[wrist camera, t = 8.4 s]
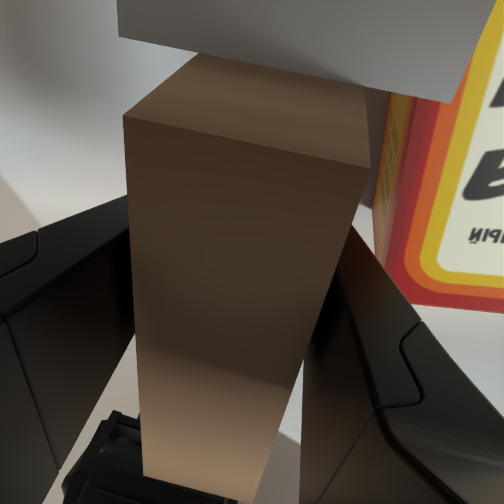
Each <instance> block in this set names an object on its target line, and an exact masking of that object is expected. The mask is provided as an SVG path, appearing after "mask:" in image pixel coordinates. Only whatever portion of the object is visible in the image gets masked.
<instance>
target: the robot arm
mask: <svg viewBox="0 0 504 504" xmlns="http://www.w3.org/2000/svg"><path fill="white" fill-rule="evenodd" d="M134 334H135V319H134V302H133V285H132V267H131V250H130V233H129V216H128V198H127V195H125V196H122V197H120V198H117V199H114V200H112V201H109V202H107V203H104V204H102V205H99V206H96V207H94V208H91V209H89V210H86V211H83V212H81V213H78V214H76V215H73V216H70V217H68V218H65V219H63V220H60V221H57V222H55V223H52V224H50V225H47V226H44V227H42V228H39V229H38V230H37V231H31V232H29V233H26V234H24V235H21V236H19V237H16V238H13V239H10V240H8V241H5V242H2V243H0V504H42V503H43V501H44V499H45V498H46V496H47V494H48V492H49V490H50V488H51V487H52V485H53V483H54V481H55V479H56V477H57V475H58V474H59V471H58V470H60V469H61V468H62V466H63V464H64V462H65V460H66V459H67V457H68V455H69V453H70V451H71V449H72V448H73V446H74V444H75V442H76V440H77V438H78V436H79V435H80V433H81V431H82V429H83V427H84V426H85V424H86V422H87V420H88V418H89V416H90V415H91V413H92V411H93V409H94V407H95V405H96V404H97V402H98V400H99V398H100V396H101V394H102V392H103V391H104V389H105V387H106V385H107V383H108V382H109V380H110V378H111V376H112V374H113V372H114V370H115V369H116V367H117V365H118V363H119V361H120V360H121V358H122V356H123V354H124V352H125V350H126V349H127V346H128V345H129V343H130V341H131V339H132V337H133V336H134ZM61 488H62V491H63V494H64V500H63V504H237V502H238V501H237V500H234V499H230V498H226V497H222V496H219V495H215V494H211V493H207V492H204V491H200V490H196V489H192V488H189V487H185V486H181V485H177V484H174V483H170V482H166V481H162V480H159V479H155V478H151V477H147V476H144V475H143V457H142V440H141V423H140V413H139V415H138V418H137V419H135V418H132V417H129V416H126V415H123V414H122V413H121V412H119V411H115V410H113V411H112V413H111V415H110V416H109V418H108V420H102V421H101V423H100V425H99V426H98V429H97V430H96V433H95V434H94V437H93V438H92V440H91V442H90V444H89V445H88V447H87V448H86V450H85V451H84V453H83V454H82V455H81V457H80V458H79V459H78V461H77V462H76V463H75V465H74V466H73V467H72V469H71V470H70V472H69V473H68V474H67V475H66V477H65V479H64V481H63V483H62V486H61ZM299 491H300V493H299V504H504V417H503V416H502V415H501V414H500V413H499V412H498V411H497V409H496V408H495V407H494V406H493V405H492V404H491V403H490V402H489V400H488V399H487V398H486V397H485V396H484V395H483V394H482V393H481V391H480V390H479V389H478V388H477V387H476V386H475V385H474V384H473V383H472V381H471V380H470V379H469V378H468V377H467V376H466V374H465V373H464V372H463V371H462V370H461V369H460V367H459V366H458V365H457V364H456V363H455V362H454V360H453V359H452V358H451V357H450V355H449V354H448V353H447V352H446V350H445V349H444V348H443V347H442V345H441V344H440V343H439V341H438V340H437V339H436V338H435V336H434V335H433V334H432V332H431V331H430V330H429V328H428V327H427V325H426V324H425V323H424V322H423V321H421V318H420V316H419V315H418V314H417V312H416V311H415V309H414V308H413V307H412V305H411V304H410V303H409V301H408V300H407V299H406V297H405V296H404V295H403V293H402V292H401V290H400V289H399V288H398V286H397V285H396V284H395V282H394V281H393V280H392V278H391V277H390V276H389V274H388V273H387V272H386V270H385V269H384V267H383V266H382V265H381V263H380V262H379V261H378V259H377V258H376V257H375V255H374V254H373V253H372V251H371V250H370V248H369V247H368V246H367V244H366V243H365V242H364V240H363V239H362V238H361V236H360V235H359V234H358V232H357V231H356V230H355V228H354V227H353V225H352V224H351V227H350V230H349V232H348V235H347V238H346V241H345V244H344V247H343V249H342V252H341V255H340V258H339V261H338V263H337V266H336V269H335V272H334V275H333V277H332V280H331V283H330V286H329V289H328V292H327V294H326V297H325V300H324V303H323V306H322V308H321V311H320V314H319V317H318V320H317V322H316V325H315V328H314V331H313V334H312V336H311V339H310V342H309V345H308V348H307V351H306V353H305V356H304V366H303V397H302V428H301V461H300V490H299Z"/></svg>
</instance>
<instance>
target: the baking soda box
mask: <svg viewBox="0 0 504 504" xmlns="http://www.w3.org/2000/svg"><path fill="white" fill-rule="evenodd" d="M372 218H373V233H374V249H375V257H376V258H377V259H378V261H379V262H380V263H381V265H382V266H383V267H384V269H385V270H386V272H387V273H388V274H389V276H390V277H391V278H392V280H393V281H394V282H395V284H396V285H397V286H398V288H399V289H400V290H401V292H402V293H403V295H404V296H405V297H406V299H407V300H408V301H409V303H410V304H416V305H425V306H435V307H445V308H454V309H464V310H473V311H483V312H492V313H502V314H504V0H497V1H496V3H495V5H494V7H493V10H492V12H491V14H490V16H489V19H488V21H487V23H486V25H485V28H484V30H483V32H482V35H481V37H480V39H479V41H478V44H477V46H476V48H475V50H474V53H473V55H472V57H471V59H470V62H469V64H468V66H467V68H466V71H465V73H464V75H463V78H462V80H461V82H460V84H459V87H458V89H457V91H456V93H455V96H454V98H453V100H452V102H451V104H449V103H444V102H439V101H434V100H429V99H424V98H419V97H414V96H409V95H405V94H400V93H395V92H390V96H389V102H388V109H387V115H386V122H385V128H384V135H383V141H382V148H381V154H380V161H379V167H378V173H377V180H376V186H375V193H374V199H373V206H372Z"/></svg>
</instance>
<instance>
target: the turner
mask: <svg viewBox="0 0 504 504" xmlns="http://www.w3.org/2000/svg"><path fill="white" fill-rule="evenodd" d="M496 1H497V0H117V12H118V29H119V37H123V38H128V39H133V40H138V41H143V42H148V43H153V44H158V45H163V46H168V47H173V48H178V49H183V50H188V51H192V52H197V53H198V54H197V55H196V56H194V57H193V58H192V59H191V60H190V61H188V62H187V63H186V64H185V65H183V66H182V67H181V68H180V69H179V70H177V71H176V72H175V73H174V74H173V75H171V76H170V77H169V78H168V79H166V80H165V81H164V82H163V83H162V84H160V85H159V86H158V87H157V88H155V89H154V90H153V91H152V92H151V93H149V94H148V95H147V96H146V97H144V98H143V99H142V100H141V101H140V102H138V103H137V104H136V105H135V106H134V107H132V108H131V109H130V110H129V111H127V112H126V113H125V114H124V115H123V129H124V147H125V164H126V181H127V198H128V216H129V233H130V250H131V267H132V285H133V302H134V319H135V336H136V354H137V371H138V387H139V404H140V423H141V440H142V457H143V475H144V476H147V477H151V478H155V479H159V480H162V481H166V482H170V483H174V484H177V485H181V486H185V487H189V488H192V489H196V490H200V491H204V492H207V493H211V494H215V495H219V496H222V497H226V498H230V499H234V500H237V501H241V502H245V503H248V504H252V502H253V500H254V497H255V494H256V491H257V488H258V485H259V483H260V480H261V477H262V474H263V471H264V469H265V466H266V463H267V460H268V457H269V454H270V452H271V449H272V446H273V443H274V440H275V438H276V435H277V432H278V429H279V426H280V424H281V421H282V418H283V415H284V412H285V410H286V407H287V404H288V401H289V398H290V396H291V393H292V390H293V387H294V384H295V381H296V379H297V376H298V373H299V370H300V367H301V365H302V362H303V359H304V356H305V353H306V351H307V348H308V345H309V342H310V339H311V336H312V334H313V331H314V328H315V325H316V322H317V320H318V317H319V314H320V311H321V308H322V306H323V303H324V300H325V297H326V294H327V292H328V289H329V286H330V283H331V280H332V277H333V275H334V272H335V269H336V266H337V263H338V261H339V258H340V255H341V252H342V249H343V247H344V244H345V241H346V238H347V235H348V232H349V230H350V227H351V224H352V221H353V218H354V216H355V213H356V210H357V207H358V204H359V202H360V199H361V196H362V193H363V190H364V187H365V185H366V182H367V179H368V176H369V173H370V171H371V160H370V147H369V134H368V121H367V108H366V95H365V87H370V88H375V89H380V90H385V91H390V92H395V93H400V94H405V95H409V96H414V97H419V98H424V99H429V100H434V101H439V102H444V103H449V104H451V102H452V100H453V98H454V96H455V93H456V91H457V89H458V87H459V84H460V82H461V80H462V78H463V75H464V73H465V71H466V68H467V66H468V64H469V62H470V59H471V57H472V55H473V53H474V50H475V48H476V46H477V44H478V41H479V39H480V37H481V35H482V32H483V30H484V28H485V25H486V23H487V21H488V19H489V16H490V14H491V12H492V10H493V7H494V5H495V3H496Z"/></svg>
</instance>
